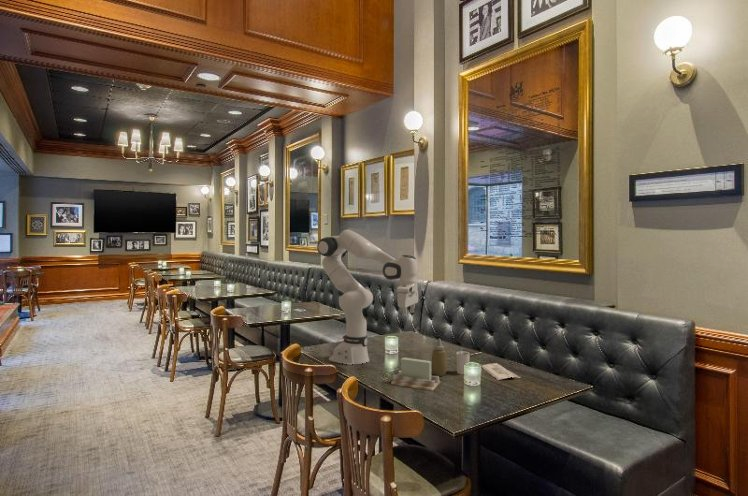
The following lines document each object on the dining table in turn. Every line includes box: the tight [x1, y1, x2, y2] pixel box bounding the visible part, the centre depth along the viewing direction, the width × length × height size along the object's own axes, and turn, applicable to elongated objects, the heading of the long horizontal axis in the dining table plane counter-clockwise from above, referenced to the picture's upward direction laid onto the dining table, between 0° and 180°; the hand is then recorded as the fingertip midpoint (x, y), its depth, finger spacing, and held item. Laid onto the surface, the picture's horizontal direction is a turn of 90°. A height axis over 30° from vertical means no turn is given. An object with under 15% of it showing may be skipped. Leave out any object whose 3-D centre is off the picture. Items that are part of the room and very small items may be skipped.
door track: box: [390, 370, 441, 392], centre depth 207 cm, size 20×12×4 cm, turn 65°
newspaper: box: [481, 362, 522, 381], centre depth 223 cm, size 23×12×2 cm, turn 9°
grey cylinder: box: [455, 351, 471, 376], centre depth 223 cm, size 7×7×10 cm
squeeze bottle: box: [431, 338, 448, 377], centre depth 220 cm, size 8×8×18 cm
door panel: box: [400, 357, 432, 380], centre depth 207 cm, size 14×3×10 cm, turn 65°
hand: (408, 314), depth 225 cm, fingers open, 8 cm apart
